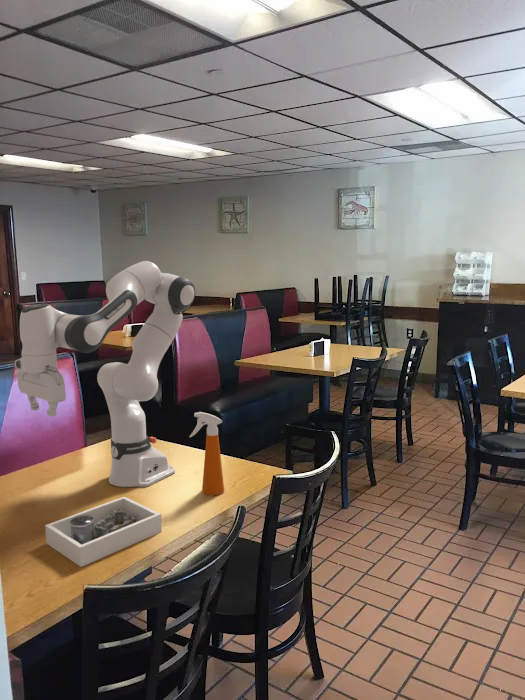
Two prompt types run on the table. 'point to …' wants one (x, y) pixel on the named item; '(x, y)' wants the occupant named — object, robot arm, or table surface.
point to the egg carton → (112, 523)
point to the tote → (108, 543)
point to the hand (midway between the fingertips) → (43, 412)
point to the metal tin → (82, 529)
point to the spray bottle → (211, 454)
